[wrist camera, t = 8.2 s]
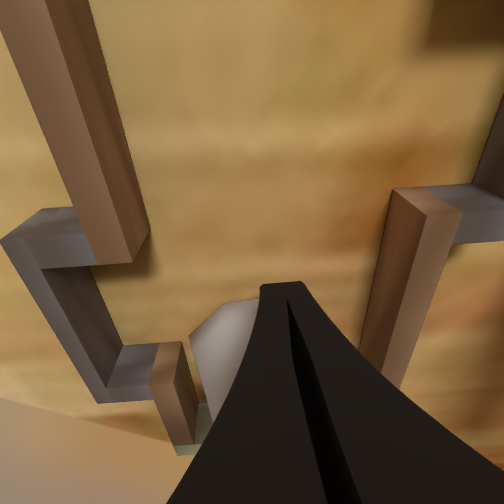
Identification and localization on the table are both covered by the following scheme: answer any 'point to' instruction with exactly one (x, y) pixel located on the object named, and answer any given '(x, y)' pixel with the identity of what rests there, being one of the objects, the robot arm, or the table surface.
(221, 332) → the flask
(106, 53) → the table surface
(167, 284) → the table surface
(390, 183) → the table surface
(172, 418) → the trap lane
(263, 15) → the table surface
